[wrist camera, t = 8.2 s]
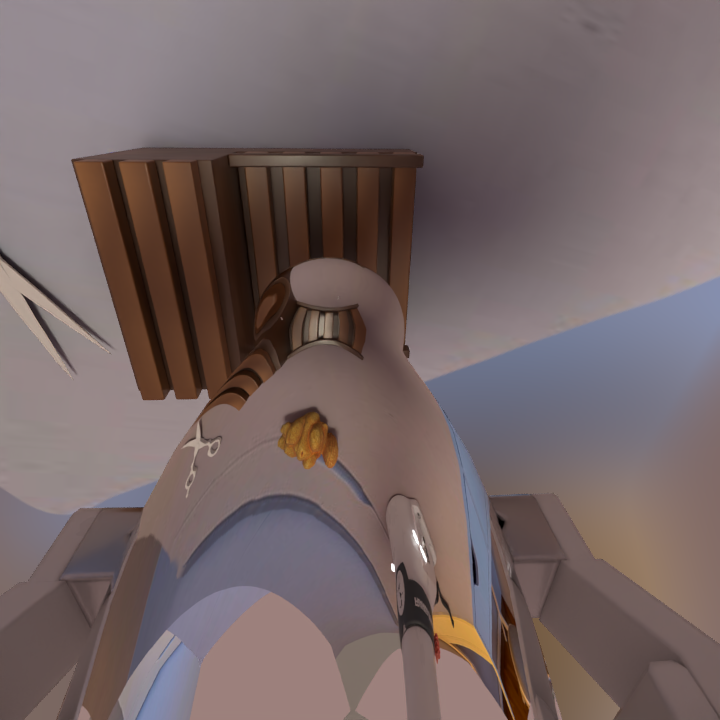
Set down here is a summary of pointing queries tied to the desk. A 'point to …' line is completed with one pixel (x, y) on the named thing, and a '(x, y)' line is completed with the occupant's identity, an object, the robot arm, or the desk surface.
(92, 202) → the rack
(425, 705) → the beer glass
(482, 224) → the desk surface
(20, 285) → the scissors
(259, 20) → the desk surface
